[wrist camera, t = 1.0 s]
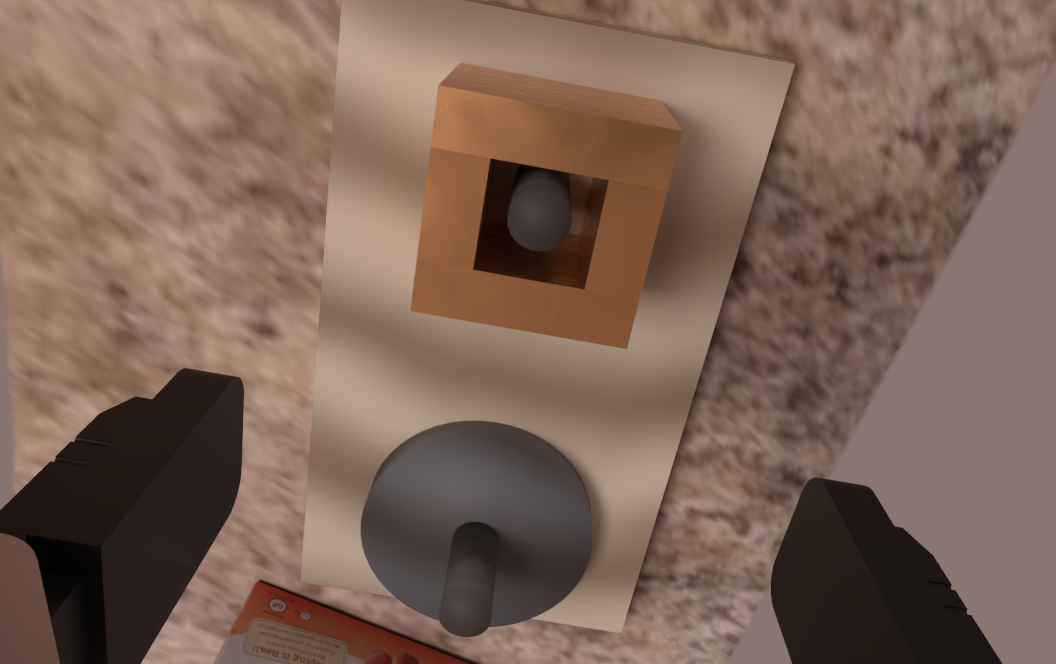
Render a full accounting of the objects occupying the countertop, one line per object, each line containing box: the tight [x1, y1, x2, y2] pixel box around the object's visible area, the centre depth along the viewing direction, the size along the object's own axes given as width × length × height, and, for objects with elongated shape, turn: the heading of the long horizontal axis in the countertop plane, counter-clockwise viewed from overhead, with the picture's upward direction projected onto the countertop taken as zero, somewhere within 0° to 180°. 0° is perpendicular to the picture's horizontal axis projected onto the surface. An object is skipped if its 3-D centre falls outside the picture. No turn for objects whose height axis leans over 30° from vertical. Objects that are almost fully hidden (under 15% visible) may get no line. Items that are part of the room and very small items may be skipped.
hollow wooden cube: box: [410, 63, 683, 349], centre depth 24 cm, size 6×6×5 cm
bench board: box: [301, 0, 795, 637], centre depth 27 cm, size 24×14×7 cm, turn 170°
